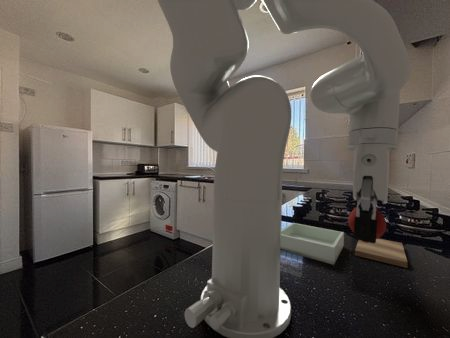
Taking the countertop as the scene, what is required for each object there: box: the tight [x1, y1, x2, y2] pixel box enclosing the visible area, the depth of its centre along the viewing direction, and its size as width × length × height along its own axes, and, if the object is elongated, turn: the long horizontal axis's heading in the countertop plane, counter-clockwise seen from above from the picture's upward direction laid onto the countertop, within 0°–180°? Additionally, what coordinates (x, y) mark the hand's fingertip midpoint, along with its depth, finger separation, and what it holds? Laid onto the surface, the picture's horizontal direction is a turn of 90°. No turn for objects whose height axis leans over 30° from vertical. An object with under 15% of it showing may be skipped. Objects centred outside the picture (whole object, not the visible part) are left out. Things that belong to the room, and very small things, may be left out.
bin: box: [280, 222, 345, 266], centre depth 50 cm, size 13×13×4 cm
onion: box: [347, 206, 387, 243], centre depth 38 cm, size 6×6×8 cm
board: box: [354, 238, 408, 269], centre depth 49 cm, size 14×9×1 cm, turn 142°
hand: (365, 236), depth 38 cm, fingers closed on onion, 5 cm apart
